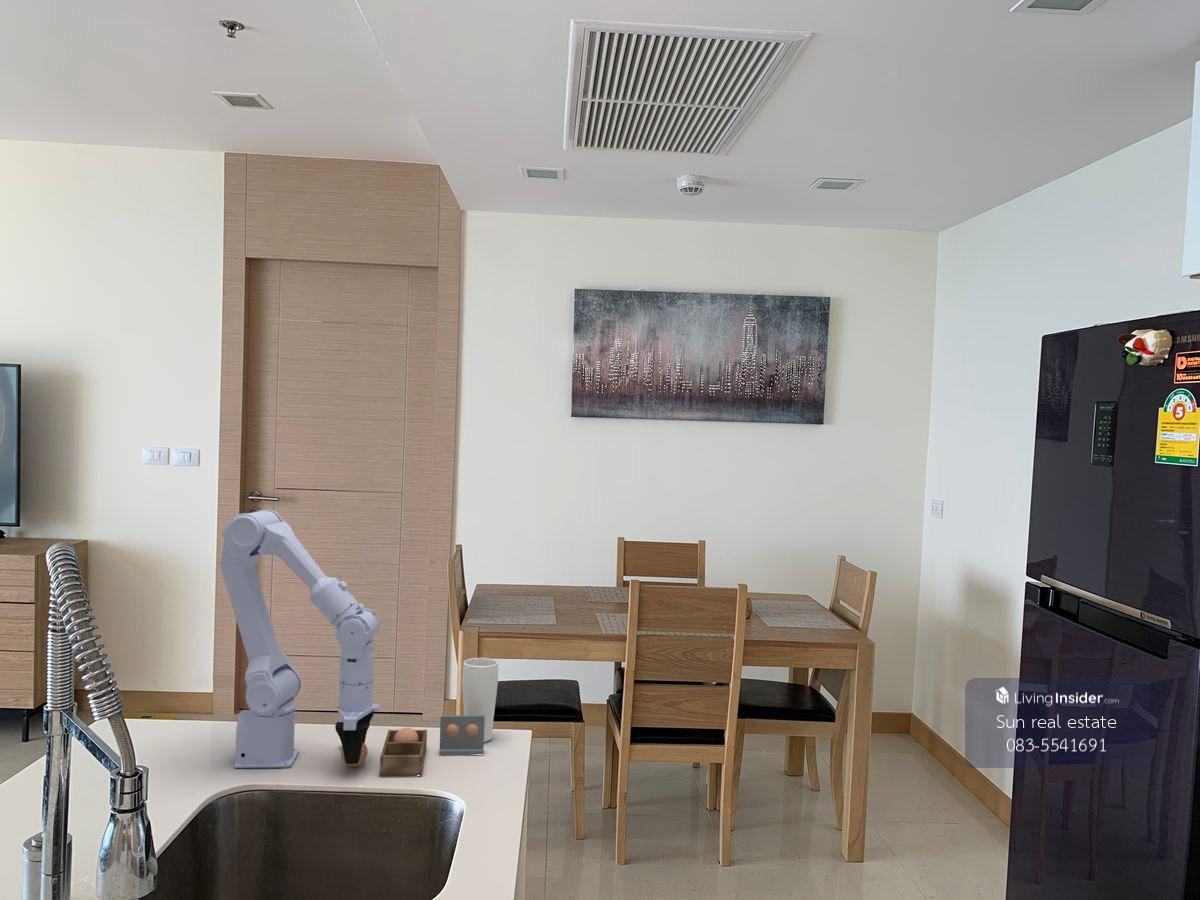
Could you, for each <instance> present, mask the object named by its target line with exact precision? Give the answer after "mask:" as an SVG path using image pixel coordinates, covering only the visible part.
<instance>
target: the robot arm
mask: <svg viewBox="0 0 1200 900" xmlns="http://www.w3.org/2000/svg"><path fill="white" fill-rule="evenodd" d="M221 534H222V537H223V546H222V551H221V557H220V562H219V566H220V571H221V574H222V576H223V578H222V579H223V580H224V584H225V588H226V590H227V594H228V597H229V600H230V601H229V602H230V604H231V606H232V611H233V614H234V616H235V621H236V624H237V627H238V630H239V634H240V636H241V640H242V643H243V648H244V649H245V650H244V651H245V653H246V656H247V660H248V666H247V668H246V671H245V673H244V680H245V684H246V692H245V702H246V704H247V706H248V708H249V709H243V710H241V711H240V713H239V715H238V717H237V722H236V730H235V760H234V761H235V762H234V765H233V768H235V769H236V768H237V769H238V768H239V769H240V768H241V769H242V768H244V769H246V768H248V769H249V768H253V769H254V768H259V769H260V768H291V767H293V764H294V763H295V760H296V758H297V757H298V755H299V754H300V748H295V727H296V726H295V723H296V722H295V720H296V704H295V698H296V697H297V696H298V695H299V693H300V691H301V688H302V679H301V676H300V674H299V673H298V671H297V670H296V669H295V668H294V667H293V665H292V664H291V659H290V658H289V657H288V656H287V655H286V654H285V653H284V652H282V651H281V649H280V646H279V642H278V638H277V636H276V633H275V629H274V625H273V622H272V620H271V616H270V613H269V609H268V605H267V602H266V600H265V595H264V592H263V590H262V587H261V582H260V580H259V577H258V572H257V570H256V566H257V564H258V562H259V561H260V559H261V558H262V556H263V555H270V556H275V557H278V558H279V559H281V560H282V562H283V563H285V565H286V566H287V567H288V568H289V569H291V571H293V573H294V574H295V575H296V576H297V577H298V578H299V579H300V580H301V581H302V582H303V583H304V584H305V585H306V586H307V587H308V588H309V591H310V595H309V597H310V598H309V600H310V601H311V603H312V604H313V605H314V606H315V608H317V610H318V611H319V612H320V613H321V614H322V616H323V617H325V618H326V620H327V621H328V622H329V623H330V624H331V626H332V627H333V628H334V629H336V630H335V638H336V640H337V643H338V644H339V645H340V657H339V662H340V663H339V684H338V685H339V690H338V691H339V693H338V705H337V712H338V713H339V715H340V717H341V718H342V720H343V721H336V724H335V725H334V728H335V732H336V733H337V735H338V738H339V739H340V742H341V747H342V748H343V753H344V758H345V762H346V764H358V762H359V759H360V755H361V749H362V744H363V743H364V744H365V743H366V739H367V733H368V730H369V727H370V724H371V721H372V718H373V717H374V715H375V712H378V711H379V710H380V704H379V703H373V702H374V701H373V700H374V674H375V673H374V671H375V640H374V638H375V637H377V634H378V633H379V629H380V621H379V618H378V617H377V614H376V613H375V612H374V611H373V610H371V609H369V608H365V606H364V604H363V603H362V602H360V603H359V602H358V601H357V600H356V599H355V597H354V596H353V595H352V594H351V593H350V592H349V590H347V588H348V584H347V583H346V582H345V581H344V580H341V581H340V580H339V579H338V577H333V576H332V577H331V576H326V575H325V573H324V572H323V571H322V569H321V568H320V566H319V564H317V563H316V561H315V560H314V559H313V558H312V556H311V555H310V553H309V552H308V551H307V549H306V548H305V546H303V544H302V543H301V542H300V541H299V540H298V538H297V536H296V535H295V534H294V532H293V530H292V528H291V526H290V524H289V523H287V522H286V521H283V518H282V516H281V515H280V514H279V513H278V512H277V511H275V510H273V509H270V508H269V509H268V508H266V509H265V508H263V509H260V510H257V511H253V512H247V513H246V512H244V513H239V514H237V515H235V516H234V517H232V518H231V520H230V521H229V522H228V524H227V525H226V526H225V528H224V530H222V532H221ZM365 745H366V744H365ZM346 764H345V765H346Z"/></svg>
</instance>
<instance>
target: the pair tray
mask: <svg viewBox="0 0 1200 900" xmlns="http://www.w3.org/2000/svg"><path fill="white" fill-rule="evenodd" d="M399 730H400V729H388V731H387V735H386V737H385V740H384V743H383V746H382V751H381V753H380V759H379V777H380V776H417V775H420V776H419V777H422V776H423V771H422V770H424V765H425V760H424V759H426V754H427V753H426V752H427V748H428V747H427V744H428V743H427V742H428V740H427V739H428V730H427V729H414V730H415V731H416V732H417V734H418V737H419V742H393V741H394V736H395V734H396V733H397V732H398V731H399ZM423 764H424V765H423Z"/></svg>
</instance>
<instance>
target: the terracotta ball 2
mask: <svg viewBox="0 0 1200 900" xmlns="http://www.w3.org/2000/svg"><path fill="white" fill-rule="evenodd" d="M398 730H399V731H398V732H397V733H396V734H395V736H394V741H393V742H419V737H418V734H417V732H416V731H415V730H416V729H413V728H411V727H401V728H400V729H398Z"/></svg>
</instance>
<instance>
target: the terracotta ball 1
mask: <svg viewBox="0 0 1200 900" xmlns="http://www.w3.org/2000/svg"><path fill="white" fill-rule="evenodd" d="M368 752H369V750H368V746H367V745H366V744H364V743H363V744H362V749H361V755H360V759H359V762H358V764H346V762H345V758H344V753H343V747H342V748H341V752H340V757H341V760H342V762H343V763H344V764H345V765H346V766H348V767H353V768H354V767H359V766H360V765H362V764H363V763H364V762H365V761H366V759H367V757H368Z"/></svg>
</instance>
